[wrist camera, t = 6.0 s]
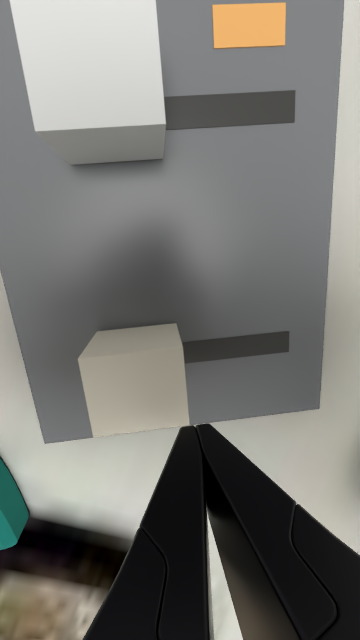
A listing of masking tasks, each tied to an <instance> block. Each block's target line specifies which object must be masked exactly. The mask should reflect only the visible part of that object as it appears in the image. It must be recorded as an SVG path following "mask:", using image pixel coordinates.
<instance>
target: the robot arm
mask: <svg viewBox="0 0 360 640" xmlns="http://www.w3.org/2000/svg"><path fill="white" fill-rule="evenodd" d="M206 508H207V509H206ZM207 512H208V516H209V520H210V524H211V527H212V531H213V535H214V538H215V542H216V545H217V549H218V552H219V556H220V559H221V563H222V566H223V570H224V573H225V577H226V580H227V584H228V587H229V591H230V594H231V598H232V601H233V605H234V609H235V612H236V616H237V619H238V623H239V626H240V630H241V633H242V637H243V640H360V555H359V554H357V553H356V552H355V551H353V550H352V549H351V548H350V547H348V546H347V545H346V544H345V543H343V542H342V541H341V540H340V539H338V538H337V537H336V536H335V535H333V534H332V533H331V532H330V531H329V530H328V529H326V528H325V527H324V526H323V525H322V524H321V523H319V522H318V521H317V520H316V519H315V518H314V517H312V516H311V515H310V514H309V513H308V512H307V511H306V510H305V509H304V508H303V507H301V506H300V505H299V504H297V505H296V501H295V500H293V499H292V498H291V497H290V496H289V495H288V494H287V493H286V492H285V491H283V490H282V489H281V488H280V487H279V486H278V485H277V484H276V483H275V482H274V481H272V480H271V479H270V478H269V477H268V476H267V475H266V474H265V473H264V472H262V471H261V470H260V469H259V468H258V467H257V466H256V465H255V464H254V463H252V462H251V461H250V460H249V459H248V458H247V457H246V456H245V455H244V454H243V453H241V452H240V451H239V450H238V449H237V448H236V447H235V446H234V445H233V444H231V443H230V442H229V441H228V440H227V439H226V438H225V437H224V436H223V435H221V434H220V433H219V432H218V431H217V430H216V429H215V428H214V427H213V426H211V425H210V424H200V425H196V427H195V426H193V425H192V426H184V427H181V428H180V430H179V433H178V435H177V437H176V440H175V442H174V445H173V447H172V449H171V452H170V454H169V456H168V459H167V461H166V464H165V466H164V468H163V471H162V473H161V476H160V478H159V480H158V483H157V485H156V487H155V490H154V492H153V495H152V497H151V499H150V502H149V504H148V507H147V509H146V511H145V514H144V516H143V518H142V521H141V523H140V528H139V529H138V530H137V532H136V535H135V537H134V539H133V542H132V544H131V547H130V549H129V551H128V553H127V555H126V558H125V560H124V562H123V564H122V566H121V568H120V571H119V573H118V575H117V577H116V579H115V580H114V582H113V584H112V586H111V588H110V590H109V592H108V594H107V596H106V598H105V600H104V602H103V604H102V605H101V607H100V609H99V611H98V613H97V614H96V616H95V618H94V620H93V622H92V624H91V625H90V627H89V629H88V631H87V633H86V635H85V636H84V638H83V640H214V630H213V612H212V594H211V576H210V558H209V540H208V523H207Z"/></svg>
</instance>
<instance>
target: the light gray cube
mask: <svg viewBox="0 0 360 640" xmlns="http://www.w3.org/2000/svg"><path fill="white" fill-rule="evenodd" d="M10 5H11V10H12V15H13V21H14V26H15V31H16V36H17V41H18V46H19V51H20V56H21V62H22V67H23V72H24V77H25V82H26V87H27V92H28V97H29V103H30V108H31V113H32V118H33V123H34V128H35V132H36V133H37V134H38V135H39V136H40V137H41V138H43V139H44V140H45V141H46V142H47V143H48V144H49V145H50V146H51V147H52V148H53V149H54V150H55V151H56V152H57V153H58V154H59V155H60V156H61V157H62V158H63V159H64V160H65V161H66V162H67V163H68V164H70V165H75V164H90V163H105V162H120V161H136V160H151V159H163V153H164V141H165V129H166V118H165V106H164V94H163V82H162V70H161V58H160V46H159V34H158V22H157V10H156V0H10Z"/></svg>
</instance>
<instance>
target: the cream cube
mask: <svg viewBox="0 0 360 640" xmlns="http://www.w3.org/2000/svg"><path fill="white" fill-rule="evenodd" d="M78 363H79V368H80V373H81V378H82V383H83V388H84V393H85V398H86V403H87V408H88V413H89V419H90V424H91V429H92V434H93V437H101V436H109V435H117V434H125V433H133V432H140V431H148V430H156V429H164V428H172V427H180V426H187V425H190V424H189V412H188V401H187V389H186V377H185V365H184V353H183V346H182V342H181V338H180V335H179V331H178V328H177V324H176V323H173V324H163V325H153V326H144V327H134V328H124V329H115V330H105V331H97V332H96V333H95V335H94V336H93V338H92V339H91V341H90V342H89V344H88V345H87V346H86V348H85V349H84V351H83V352H82V354H81V355H80V356H79V358H78Z"/></svg>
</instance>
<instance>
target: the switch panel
mask: <svg viewBox="0 0 360 640" xmlns="http://www.w3.org/2000/svg"><path fill="white" fill-rule="evenodd" d="M156 10H157V22H158V34H159V46H160V58H161V70H162V82H163V94H164V106H165V118H166V129H165V141H164V153H163V159H151V160H136V161H120V162H105V163H90V164H75V165H70V164H68V163H67V162H66V161H65V160H64V159H63V158H62V157H61V156H60V155H59V154H58V153H57V152H56V151H55V150H54V149H53V148H52V147H51V146H50V145H49V144H48V143H47V142H46V141H45V140H44V139H43V138H41V137H40V136H39V135H38V134H37V133H36V132H35V128H34V123H33V118H32V113H31V108H30V103H29V97H28V92H27V87H26V82H25V77H24V72H23V67H22V62H21V56H20V51H19V46H18V41H17V36H16V31H15V26H14V21H13V15H12V10H11V5H10V0H0V270H1V274H2V278H3V282H4V286H5V290H6V294H7V297H8V301H9V305H10V309H11V313H12V317H13V321H14V325H15V329H16V333H17V337H18V341H19V345H20V349H21V353H22V356H23V360H24V364H25V368H26V372H27V376H28V380H29V384H30V388H31V392H32V396H33V400H34V404H35V408H36V411H37V415H38V419H39V423H40V427H41V431H42V435H43V439H44V443H45V444H47V443H54V442H62V441H70V440H78V439H86V438H94V437H93V434H92V429H91V424H90V419H89V413H88V408H87V403H86V398H85V393H84V388H83V383H82V378H81V373H80V368H79V363H78V358H79V356H80V355H81V354H82V352H83V351H84V349H85V348H86V346H87V345H88V344H89V342H90V341H91V339H92V338H93V336H94V335H95V333H96V332H97V331H105V330H115V329H124V328H134V327H144V326H153V325H163V324H173V323H176V324H177V328H178V331H179V335H180V338H181V342H182V346H183V353H184V365H185V377H186V389H187V401H188V412H189V424H190V425H195V424H203V423H211V422H219V421H227V420H235V419H242V418H250V417H258V416H266V415H274V414H282V413H289V412H297V411H305V410H313V409H319V407H320V391H321V374H322V358H323V341H324V325H325V308H326V292H327V275H328V259H329V242H330V226H331V209H332V193H333V176H334V160H335V143H336V127H337V110H338V94H339V77H340V61H341V44H342V28H343V11H344V0H156ZM187 426H188V425H187ZM140 432H141V431H140Z"/></svg>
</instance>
